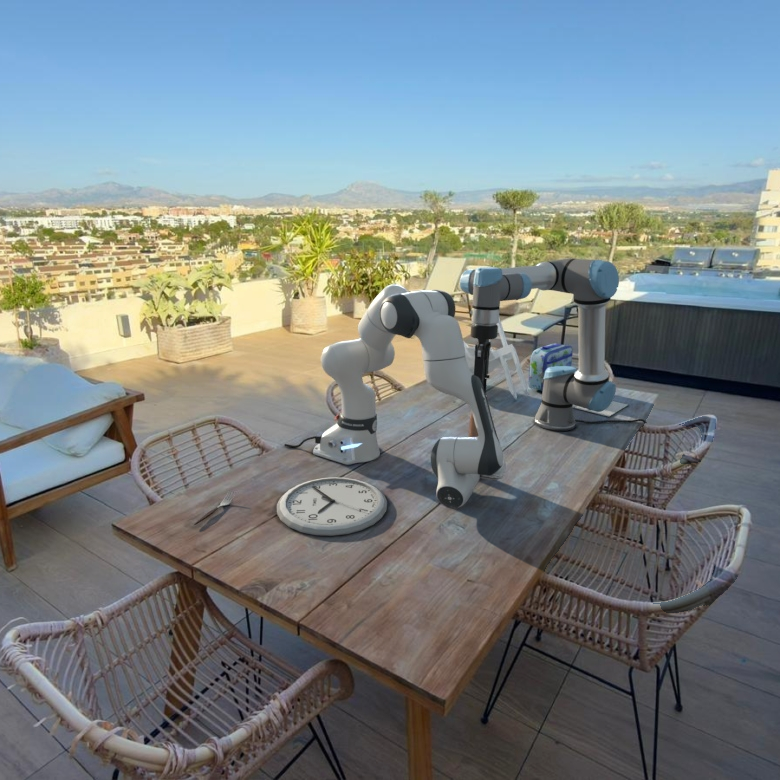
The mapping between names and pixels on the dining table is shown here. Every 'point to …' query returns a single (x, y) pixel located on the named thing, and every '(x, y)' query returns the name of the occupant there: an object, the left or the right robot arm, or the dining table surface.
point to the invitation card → (607, 409)
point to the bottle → (472, 427)
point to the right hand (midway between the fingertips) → (479, 401)
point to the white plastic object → (500, 361)
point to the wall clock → (331, 506)
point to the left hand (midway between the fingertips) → (475, 454)
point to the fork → (223, 503)
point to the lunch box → (547, 362)
